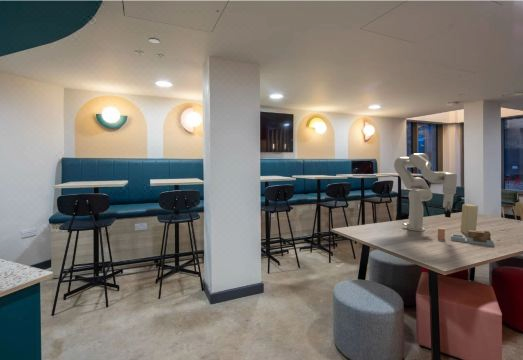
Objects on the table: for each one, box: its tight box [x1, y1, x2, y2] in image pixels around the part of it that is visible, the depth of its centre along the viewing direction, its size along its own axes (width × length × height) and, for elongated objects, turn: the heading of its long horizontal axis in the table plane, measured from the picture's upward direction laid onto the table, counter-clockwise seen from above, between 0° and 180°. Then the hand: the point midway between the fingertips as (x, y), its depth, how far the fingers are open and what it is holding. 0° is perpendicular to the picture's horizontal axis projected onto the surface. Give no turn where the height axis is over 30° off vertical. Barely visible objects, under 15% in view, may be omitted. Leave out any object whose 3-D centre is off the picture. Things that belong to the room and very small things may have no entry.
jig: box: [450, 233, 495, 247], centre depth 186 cm, size 22×9×3 cm, turn 57°
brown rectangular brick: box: [437, 227, 446, 240], centre depth 193 cm, size 4×4×7 cm
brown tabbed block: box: [467, 229, 491, 242], centre depth 184 cm, size 12×5×7 cm, turn 57°
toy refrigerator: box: [460, 203, 479, 235], centre depth 206 cm, size 8×7×21 cm
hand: (447, 215), depth 191 cm, fingers open, 9 cm apart
